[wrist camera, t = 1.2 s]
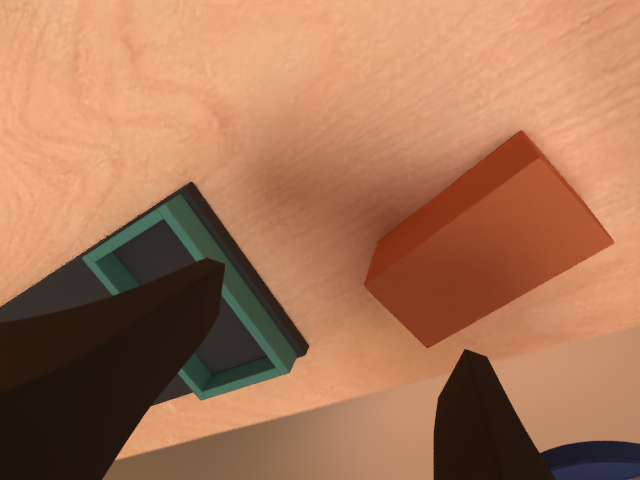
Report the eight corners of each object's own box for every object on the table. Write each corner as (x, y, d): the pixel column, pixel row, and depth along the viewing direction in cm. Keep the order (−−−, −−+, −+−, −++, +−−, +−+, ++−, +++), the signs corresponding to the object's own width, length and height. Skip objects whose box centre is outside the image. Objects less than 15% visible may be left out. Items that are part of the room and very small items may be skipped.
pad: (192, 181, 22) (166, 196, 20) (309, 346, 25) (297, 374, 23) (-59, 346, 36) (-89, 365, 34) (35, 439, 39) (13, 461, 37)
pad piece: (582, 200, 18) (615, 243, 14) (430, 297, 21) (427, 349, 18) (521, 129, 17) (540, 156, 13) (376, 242, 21) (362, 285, 17)
